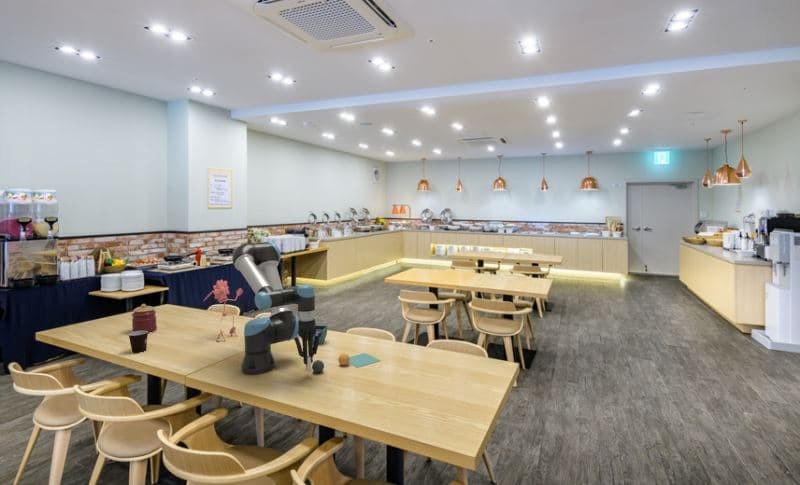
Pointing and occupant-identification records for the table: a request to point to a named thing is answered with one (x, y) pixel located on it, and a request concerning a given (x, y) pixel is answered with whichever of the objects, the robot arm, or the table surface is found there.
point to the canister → (144, 319)
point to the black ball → (318, 366)
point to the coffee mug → (138, 341)
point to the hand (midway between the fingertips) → (308, 370)
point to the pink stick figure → (220, 293)
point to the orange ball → (343, 359)
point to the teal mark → (362, 360)
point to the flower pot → (323, 333)
